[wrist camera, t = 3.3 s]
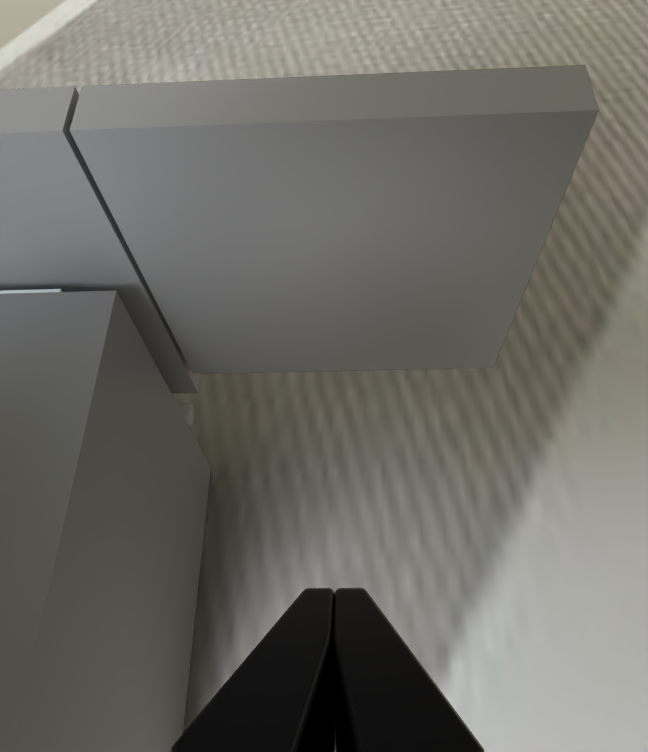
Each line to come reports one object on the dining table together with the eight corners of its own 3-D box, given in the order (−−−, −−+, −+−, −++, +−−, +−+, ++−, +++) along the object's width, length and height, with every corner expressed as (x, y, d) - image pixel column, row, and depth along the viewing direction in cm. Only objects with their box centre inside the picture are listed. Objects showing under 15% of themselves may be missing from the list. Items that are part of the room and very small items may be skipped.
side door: (485, 387, 15) (599, 109, 8) (-127, 399, 16) (-524, 153, 9) (481, 355, 15) (585, 64, 8) (-115, 368, 16) (-484, 109, 9)
